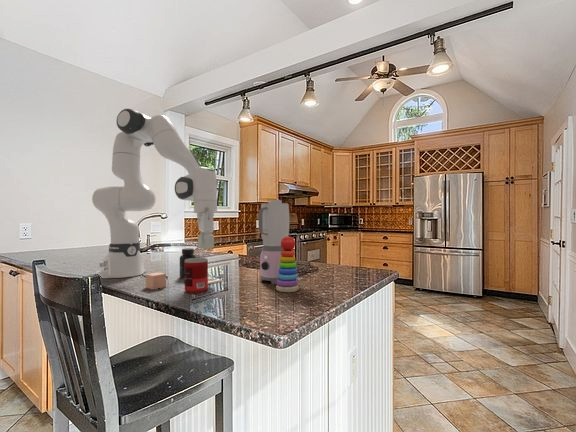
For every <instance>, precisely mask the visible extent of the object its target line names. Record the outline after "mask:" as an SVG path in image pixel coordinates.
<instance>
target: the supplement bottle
mask: <svg viewBox="0 0 576 432" xmlns="http://www.w3.org/2000/svg"><path fill="white" fill-rule="evenodd" d="M181 254H182V255H180V256H179V278H180V279H183V278H185V268H184V264H185V260H186V259H190V258H197V256H196V255H195V250H194V248H190V247H189V248H182V249H181Z"/></svg>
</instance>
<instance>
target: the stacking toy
mask: <svg viewBox="0 0 576 432" xmlns="http://www.w3.org/2000/svg"><path fill="white" fill-rule="evenodd" d="M281 247H282V248H283V249H284V250H282V251H281V255H282V256H281V257H280V261H281V262H280V263H279V266H280V268H279V269H278V271H279V274H278V279H277V281H276V283H277V284H276V286H275V290H276V291H277V292H280V293H294V292H297V291H299V290H300V287H299V281H298V277H299V276H298V273H297V272H298V269H297V268H296V267H297V262H296V257H295V255H296V251H295V250H294V248H295V247H296V240H295V239H294V238H293V237H291V236H289V235H288V236H287V237H284V238H283V239H282V240H281Z"/></svg>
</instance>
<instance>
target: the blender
mask: <svg viewBox="0 0 576 432" xmlns="http://www.w3.org/2000/svg"><path fill="white" fill-rule="evenodd" d="M257 216H258V220H257V221H258V223H257V225H258V232H259V234H261V238H262V244H263V245H262V250H261V253H260V255H259V265H260V266H259V268H260V269H259V270H260V271H259V273H260V275H259V276H260V277H259V279H260V280H259V281H260V282H261V283H262V282H263V281H269V282H270V284H271V285H278V284H277V283H276V281H277V279H278V274H279V271H278V269H279V268H280V266H279V263H280V262H281V261H280V257H281V256H282V255H281V251H282V250H284V249H283V248H282V247H281V240H282V239H283V238H284V237H287V236H289V235H290V205H289V203H287V202H286V203H284V202H282V200H281V199H269V200H268V203H267V202H266V203H261V205H260V209H259V211H258V215H257Z"/></svg>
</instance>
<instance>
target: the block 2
mask: <svg viewBox="0 0 576 432" xmlns="http://www.w3.org/2000/svg"><path fill="white" fill-rule="evenodd" d="M197 248H199V249H213V248H215V235H214V234H211V233H210V239H209V244H204V235H202V234H197Z"/></svg>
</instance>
